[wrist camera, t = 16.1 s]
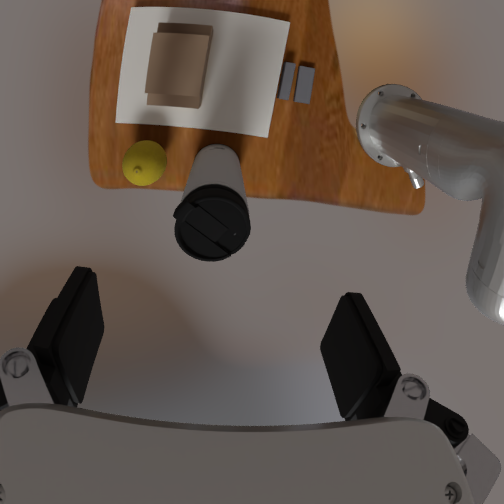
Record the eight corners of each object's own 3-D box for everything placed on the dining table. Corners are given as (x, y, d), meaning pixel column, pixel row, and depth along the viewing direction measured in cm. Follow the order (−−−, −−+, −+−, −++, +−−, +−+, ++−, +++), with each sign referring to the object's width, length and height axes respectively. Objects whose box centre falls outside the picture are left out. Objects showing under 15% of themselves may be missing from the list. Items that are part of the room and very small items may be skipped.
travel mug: (213, 132, 39) (205, 178, 22) (249, 164, 42) (268, 232, 25) (182, 165, 41) (154, 235, 24) (218, 195, 44) (216, 280, 27)
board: (287, 24, 32) (290, 22, 31) (265, 135, 40) (267, 137, 39) (134, 9, 29) (131, 7, 28) (119, 121, 37) (115, 122, 36)
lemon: (139, 130, 38) (121, 142, 31) (176, 142, 40) (166, 157, 33) (127, 167, 40) (109, 186, 34) (163, 179, 42) (152, 200, 35)
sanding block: (213, 31, 31) (212, 23, 26) (201, 105, 36) (197, 110, 31) (165, 28, 30) (155, 20, 25) (154, 102, 35) (143, 106, 30)
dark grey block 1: (295, 63, 34) (286, 61, 33) (288, 100, 36) (279, 98, 36) (292, 64, 35) (283, 62, 35) (285, 99, 38) (276, 97, 38)
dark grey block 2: (299, 65, 35) (297, 65, 36) (294, 101, 37) (292, 100, 38) (314, 68, 35) (312, 68, 36) (309, 103, 38) (307, 103, 39)
